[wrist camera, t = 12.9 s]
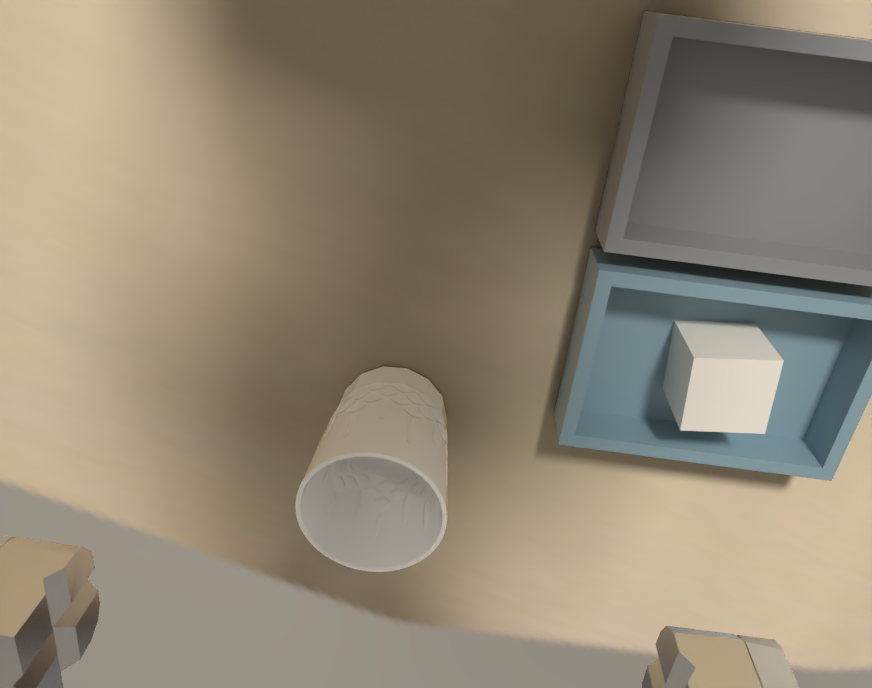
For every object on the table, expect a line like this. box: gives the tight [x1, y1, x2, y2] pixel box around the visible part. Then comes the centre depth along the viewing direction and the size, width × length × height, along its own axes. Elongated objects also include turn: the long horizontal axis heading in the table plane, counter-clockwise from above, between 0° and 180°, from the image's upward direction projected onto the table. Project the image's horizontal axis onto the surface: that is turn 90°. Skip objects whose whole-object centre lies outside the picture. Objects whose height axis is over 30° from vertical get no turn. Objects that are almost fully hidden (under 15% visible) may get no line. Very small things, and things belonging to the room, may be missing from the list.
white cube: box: [663, 320, 784, 434], centre depth 40 cm, size 4×4×4 cm
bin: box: [554, 247, 872, 481], centre depth 41 cm, size 11×16×4 cm
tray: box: [595, 11, 872, 287], centre depth 35 cm, size 11×16×4 cm
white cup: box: [295, 366, 448, 572], centre depth 41 cm, size 8×8×10 cm
